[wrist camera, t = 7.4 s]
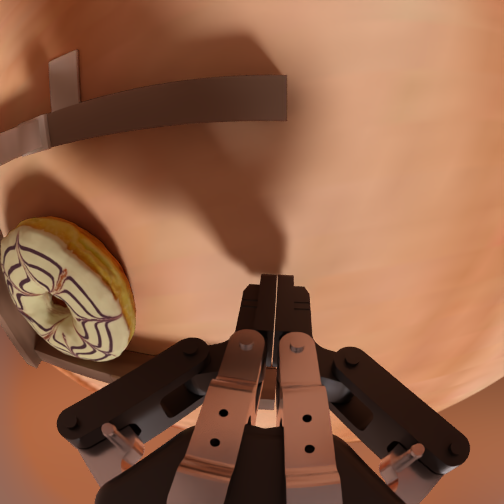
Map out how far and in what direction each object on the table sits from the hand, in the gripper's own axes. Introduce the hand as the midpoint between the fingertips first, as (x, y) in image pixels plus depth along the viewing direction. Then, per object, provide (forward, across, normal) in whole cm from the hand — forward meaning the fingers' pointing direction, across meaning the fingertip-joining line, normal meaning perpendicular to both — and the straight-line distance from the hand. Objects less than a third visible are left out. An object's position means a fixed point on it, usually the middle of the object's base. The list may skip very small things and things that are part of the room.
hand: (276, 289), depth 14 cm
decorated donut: (+1, +13, +1) cm, 13 cm away
